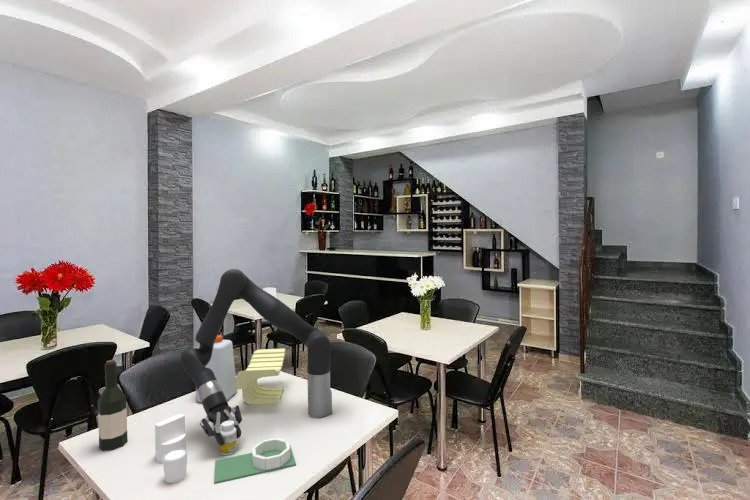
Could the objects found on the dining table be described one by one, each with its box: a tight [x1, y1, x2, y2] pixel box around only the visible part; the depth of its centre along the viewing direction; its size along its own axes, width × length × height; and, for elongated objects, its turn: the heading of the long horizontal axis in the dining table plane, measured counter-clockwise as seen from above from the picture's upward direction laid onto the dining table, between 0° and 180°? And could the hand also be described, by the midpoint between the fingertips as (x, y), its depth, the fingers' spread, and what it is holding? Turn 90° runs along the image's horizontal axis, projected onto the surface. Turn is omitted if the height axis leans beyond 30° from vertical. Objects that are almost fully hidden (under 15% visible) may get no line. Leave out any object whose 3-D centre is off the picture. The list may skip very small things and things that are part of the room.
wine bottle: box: [97, 359, 129, 452], centre depth 134 cm, size 8×8×30 cm
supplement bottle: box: [219, 419, 238, 456], centre depth 130 cm, size 5×5×10 cm
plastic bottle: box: [195, 334, 238, 404], centre depth 174 cm, size 15×15×28 cm
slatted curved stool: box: [236, 348, 286, 405], centre depth 173 cm, size 30×16×18 cm, turn 5°
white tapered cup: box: [162, 449, 188, 484], centre depth 116 cm, size 7×7×7 cm
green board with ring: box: [213, 437, 297, 485], centre depth 122 cm, size 24×12×4 cm, turn 111°
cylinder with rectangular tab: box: [154, 413, 187, 464], centre depth 128 cm, size 9×9×12 cm
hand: (231, 440), depth 128 cm, fingers closed on supplement bottle, 5 cm apart
